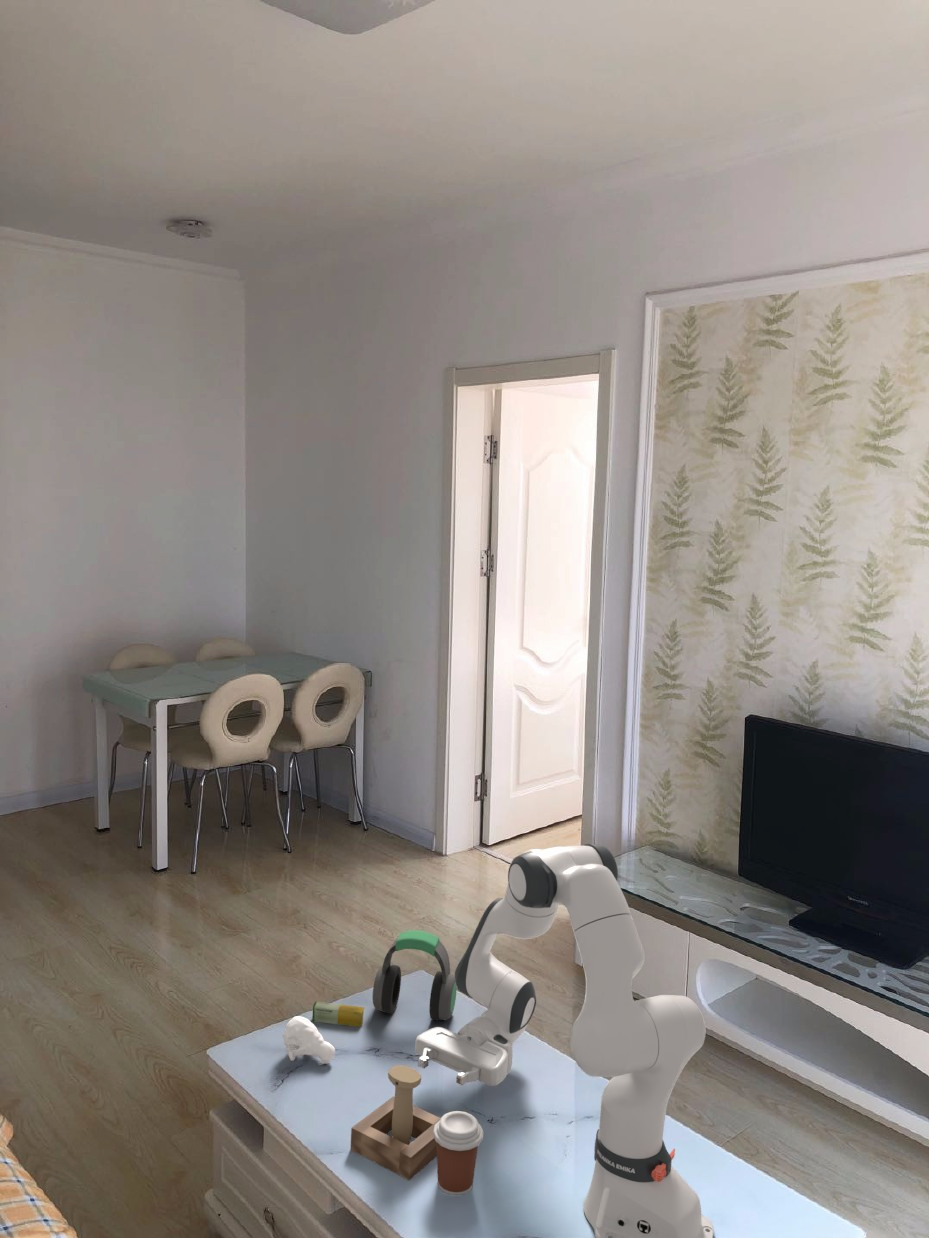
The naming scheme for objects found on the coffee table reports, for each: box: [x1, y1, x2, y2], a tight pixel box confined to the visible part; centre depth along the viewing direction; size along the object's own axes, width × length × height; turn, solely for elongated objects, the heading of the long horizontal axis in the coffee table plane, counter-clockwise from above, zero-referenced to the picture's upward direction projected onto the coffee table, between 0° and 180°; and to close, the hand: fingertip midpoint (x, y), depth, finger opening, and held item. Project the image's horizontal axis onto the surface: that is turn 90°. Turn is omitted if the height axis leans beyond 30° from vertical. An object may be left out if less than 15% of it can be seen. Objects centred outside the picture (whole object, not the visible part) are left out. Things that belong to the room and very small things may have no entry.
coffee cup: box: [433, 1110, 484, 1197], centre depth 184 cm, size 9×9×12 cm
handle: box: [387, 1064, 422, 1145], centre depth 193 cm, size 5×6×15 cm
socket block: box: [349, 1095, 441, 1181], centre depth 194 cm, size 14×13×4 cm
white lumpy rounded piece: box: [282, 1015, 336, 1066], centre depth 222 cm, size 6×8×12 cm
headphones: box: [372, 929, 458, 1021], centre depth 243 cm, size 19×11×20 cm, turn 80°
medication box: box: [311, 1001, 365, 1028], centre depth 238 cm, size 12×3×4 cm, turn 84°
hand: (439, 1072), depth 203 cm, fingers open, 8 cm apart
